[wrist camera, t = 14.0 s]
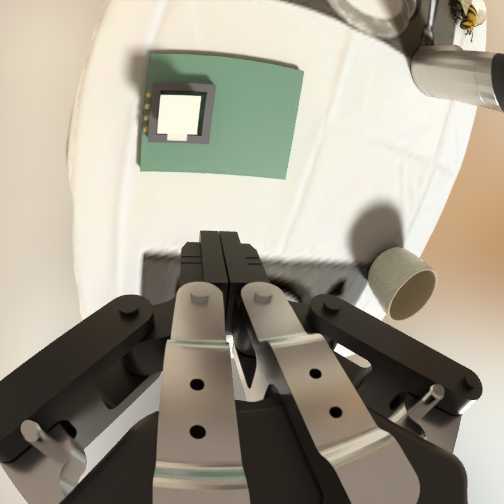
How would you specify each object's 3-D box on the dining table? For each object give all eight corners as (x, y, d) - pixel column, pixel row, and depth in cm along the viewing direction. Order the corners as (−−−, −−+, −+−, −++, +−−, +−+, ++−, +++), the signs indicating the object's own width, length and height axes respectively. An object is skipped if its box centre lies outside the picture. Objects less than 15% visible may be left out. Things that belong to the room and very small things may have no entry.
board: (152, 55, 26) (148, 51, 23) (300, 72, 31) (309, 69, 28) (141, 169, 34) (137, 175, 31) (282, 177, 38) (289, 183, 36)
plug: (168, 97, 28) (160, 94, 22) (200, 98, 29) (201, 96, 23) (165, 133, 31) (156, 141, 24) (196, 134, 32) (196, 142, 25)
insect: (437, 15, 25) (455, 13, 21) (446, -19, 19) (462, -21, 15) (467, 51, 29) (484, 53, 25) (475, 15, 23) (490, 15, 19)
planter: (414, 241, 50) (446, 268, 41) (392, 288, 56) (418, 318, 47) (373, 236, 47) (407, 268, 38) (351, 289, 53) (377, 325, 44)
